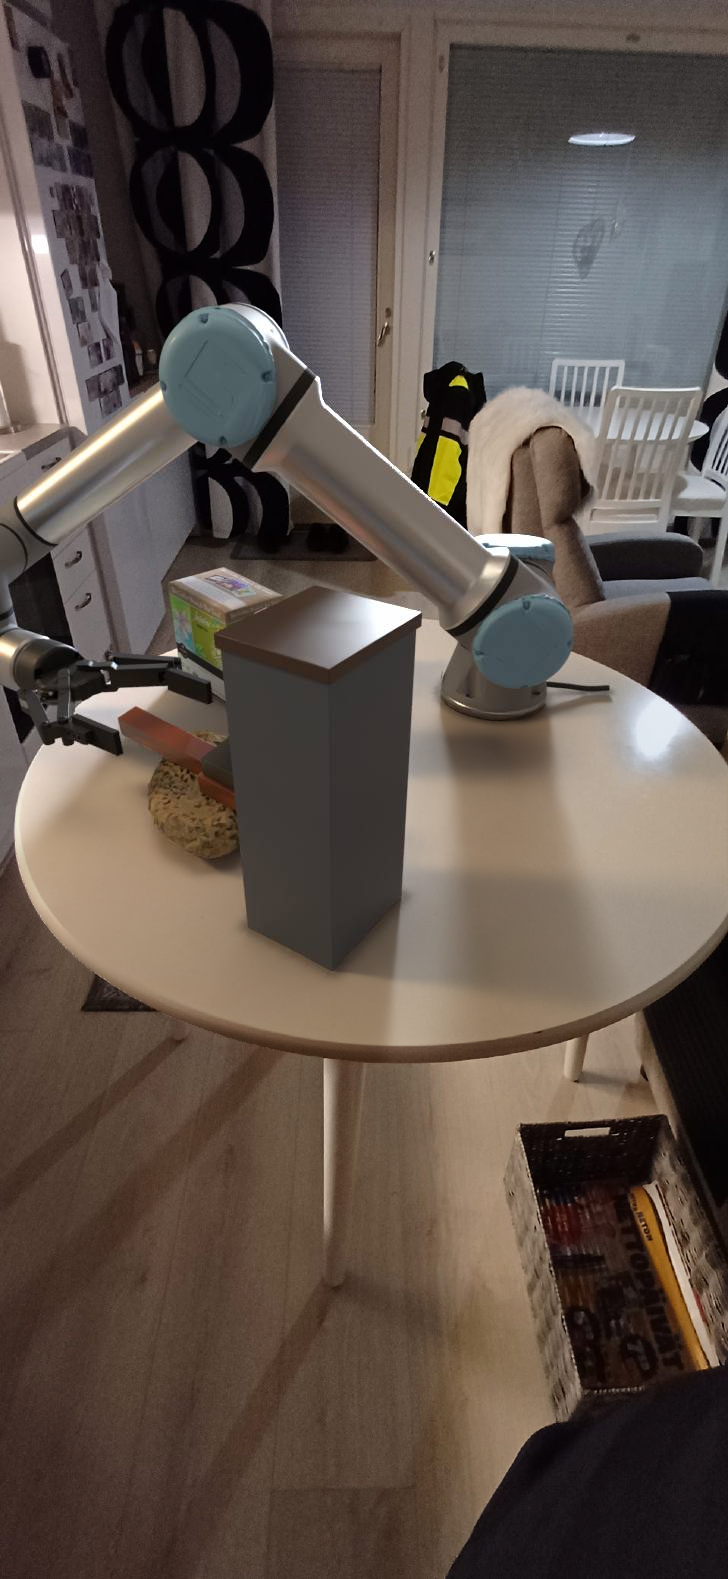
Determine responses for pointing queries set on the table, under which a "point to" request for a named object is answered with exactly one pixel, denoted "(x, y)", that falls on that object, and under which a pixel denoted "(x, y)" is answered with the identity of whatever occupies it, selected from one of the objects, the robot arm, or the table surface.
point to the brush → (184, 752)
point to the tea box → (212, 617)
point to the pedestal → (320, 764)
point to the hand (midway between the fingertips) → (166, 717)
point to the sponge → (191, 809)
